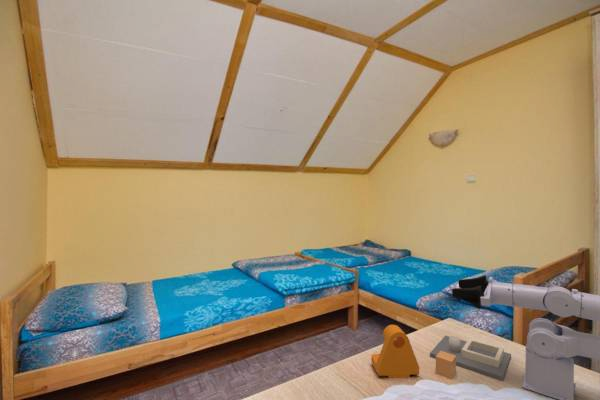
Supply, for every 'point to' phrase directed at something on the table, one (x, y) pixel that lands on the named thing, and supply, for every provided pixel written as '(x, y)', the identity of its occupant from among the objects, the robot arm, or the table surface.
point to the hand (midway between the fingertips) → (455, 287)
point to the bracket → (395, 355)
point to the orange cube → (446, 364)
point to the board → (475, 356)
